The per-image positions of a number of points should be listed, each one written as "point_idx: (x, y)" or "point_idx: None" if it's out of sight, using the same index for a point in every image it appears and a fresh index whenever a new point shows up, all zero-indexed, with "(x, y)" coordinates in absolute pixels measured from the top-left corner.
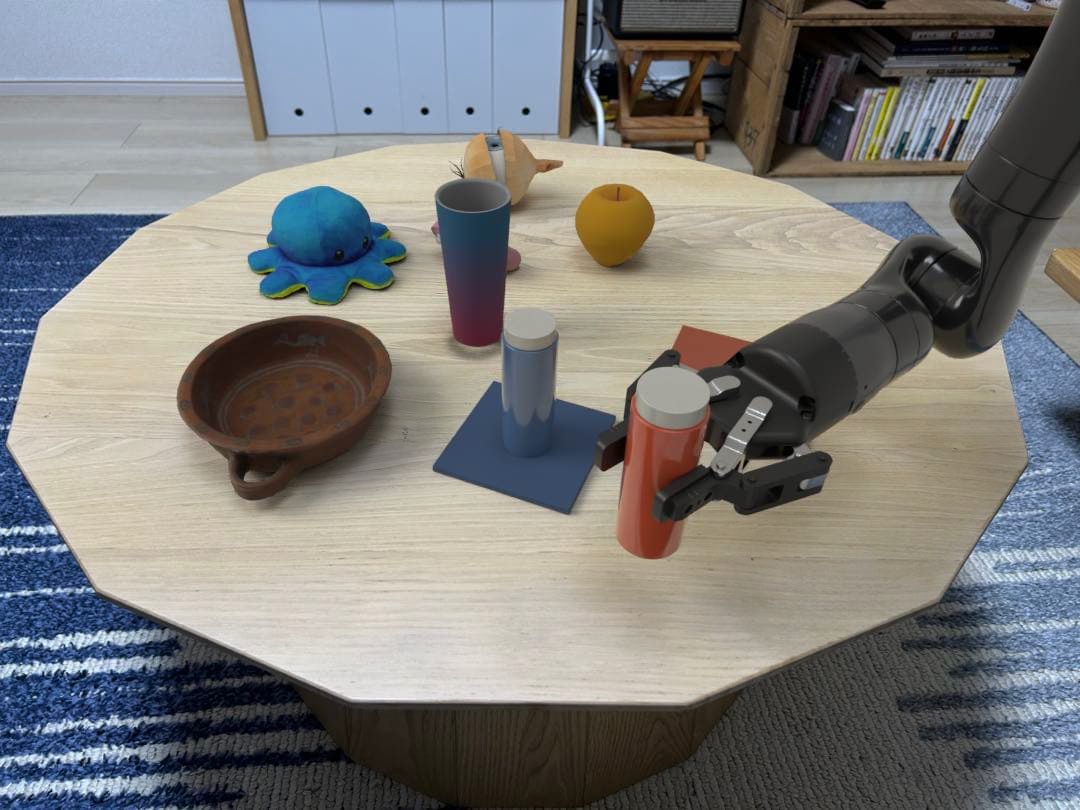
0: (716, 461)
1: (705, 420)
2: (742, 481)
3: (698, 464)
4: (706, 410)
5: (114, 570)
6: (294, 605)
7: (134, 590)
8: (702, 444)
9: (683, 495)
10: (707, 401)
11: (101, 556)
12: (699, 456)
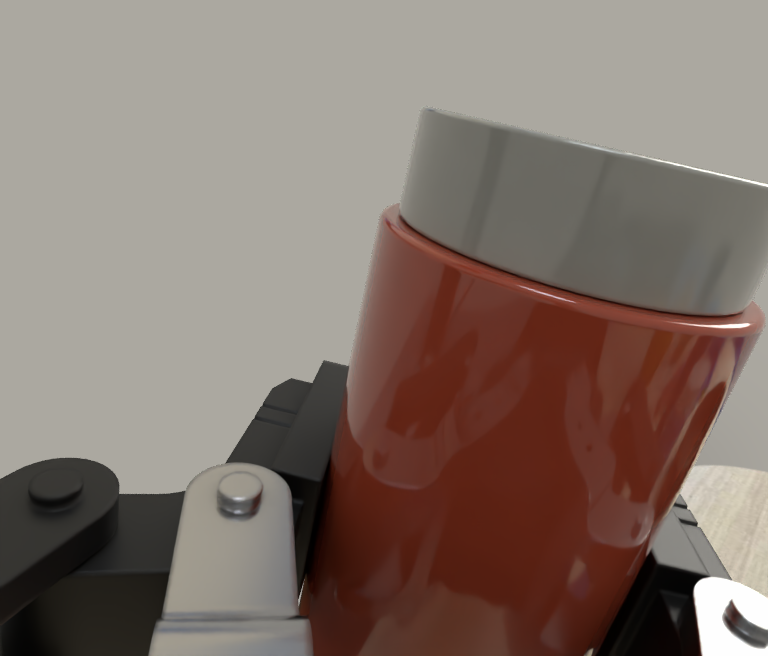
0: (270, 503)
1: (391, 217)
2: (107, 467)
3: (332, 493)
4: (417, 171)
5: (740, 475)
6: None
7: (707, 472)
8: (354, 374)
9: (296, 406)
10: (435, 108)
11: (763, 478)
12: (341, 437)
